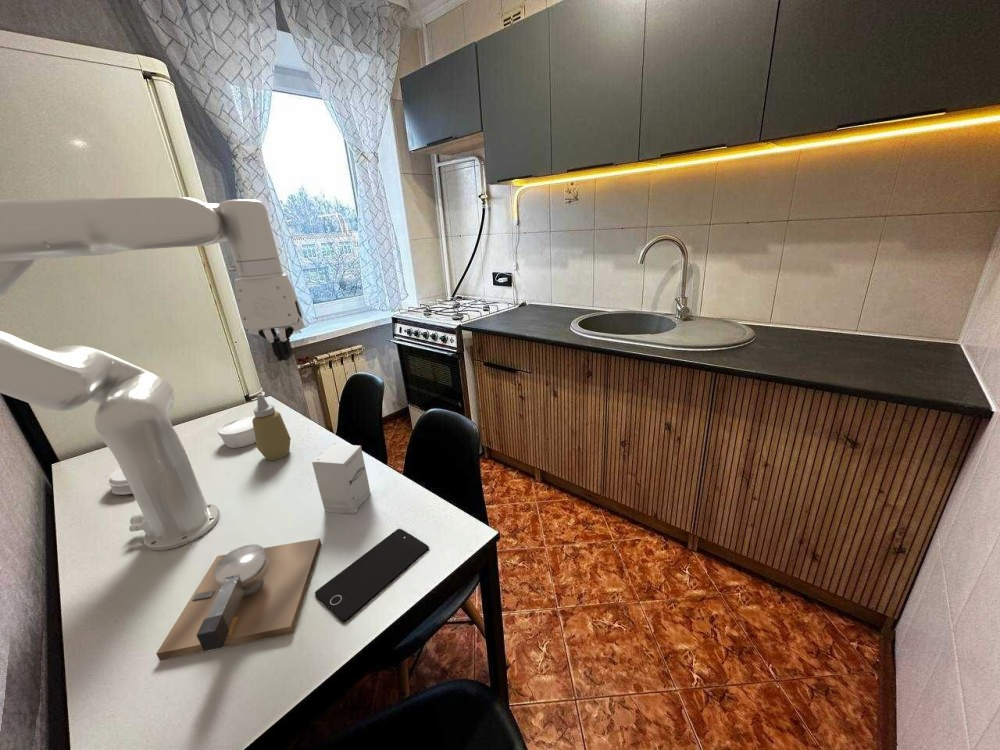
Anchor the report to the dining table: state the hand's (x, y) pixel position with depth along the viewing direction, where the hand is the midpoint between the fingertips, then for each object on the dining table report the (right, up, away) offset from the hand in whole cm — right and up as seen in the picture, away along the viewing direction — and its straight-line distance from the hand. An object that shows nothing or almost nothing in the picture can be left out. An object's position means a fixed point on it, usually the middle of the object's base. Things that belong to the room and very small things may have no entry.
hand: (285, 358), depth 83 cm
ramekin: (-31, -23, +34) cm, 51 cm away
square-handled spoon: (+5, -38, -22) cm, 44 cm away
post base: (+4, -40, -17) cm, 44 cm away
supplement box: (+12, -32, +4) cm, 34 cm away
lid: (-44, -31, +17) cm, 56 cm away
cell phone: (+24, -39, -13) cm, 47 cm away
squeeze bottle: (-16, -26, +25) cm, 39 cm away
